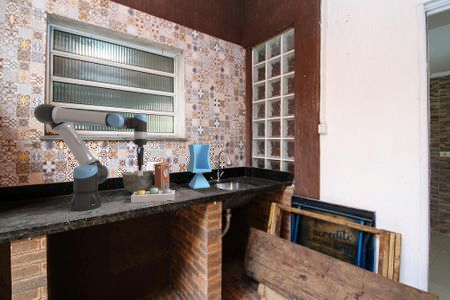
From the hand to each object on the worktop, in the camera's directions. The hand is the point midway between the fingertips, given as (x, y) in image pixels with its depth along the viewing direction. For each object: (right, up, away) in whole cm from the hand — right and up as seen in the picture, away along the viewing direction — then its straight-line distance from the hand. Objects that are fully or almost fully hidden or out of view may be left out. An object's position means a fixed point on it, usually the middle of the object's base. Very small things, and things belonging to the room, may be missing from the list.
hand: (140, 175), depth 144 cm
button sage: (+8, -12, +1) cm, 15 cm away
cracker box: (+8, -15, +23) cm, 28 cm away
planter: (+33, -14, +43) cm, 56 cm away
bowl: (-9, -15, +21) cm, 27 cm away
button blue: (+16, -13, +3) cm, 21 cm away
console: (+8, -16, +1) cm, 18 cm away
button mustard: (+1, -13, -1) cm, 13 cm away
